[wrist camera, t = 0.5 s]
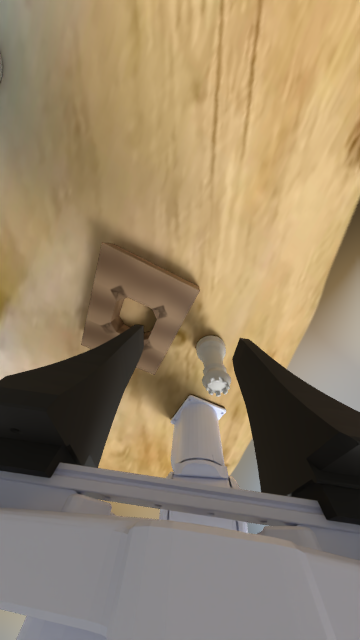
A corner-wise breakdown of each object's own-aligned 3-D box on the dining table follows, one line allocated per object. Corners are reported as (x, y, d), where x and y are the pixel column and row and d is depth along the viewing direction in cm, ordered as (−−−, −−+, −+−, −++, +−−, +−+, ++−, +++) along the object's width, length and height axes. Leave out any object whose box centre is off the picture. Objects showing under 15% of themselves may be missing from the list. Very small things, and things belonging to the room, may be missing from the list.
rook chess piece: (212, 328, 22) (221, 365, 15) (230, 347, 23) (247, 390, 16) (190, 345, 23) (188, 385, 16) (208, 362, 24) (214, 407, 17)
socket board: (158, 364, 25) (154, 375, 23) (91, 336, 24) (81, 344, 22) (199, 286, 19) (199, 290, 17) (113, 243, 18) (102, 242, 16)
